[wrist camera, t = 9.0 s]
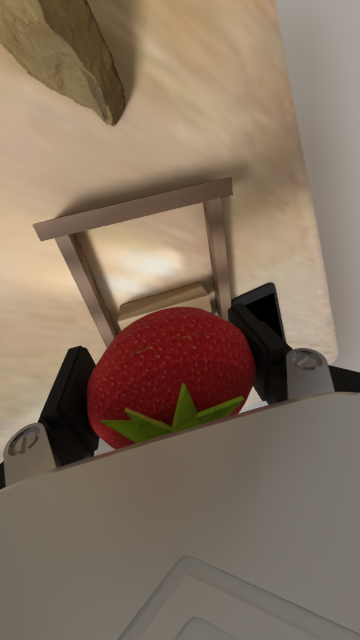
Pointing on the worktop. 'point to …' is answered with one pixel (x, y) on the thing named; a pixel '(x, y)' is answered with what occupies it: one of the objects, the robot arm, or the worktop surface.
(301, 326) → the worktop surface
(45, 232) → the rack
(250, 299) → the smartphone
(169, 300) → the inner offcut board
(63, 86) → the rock
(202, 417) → the strawberry
